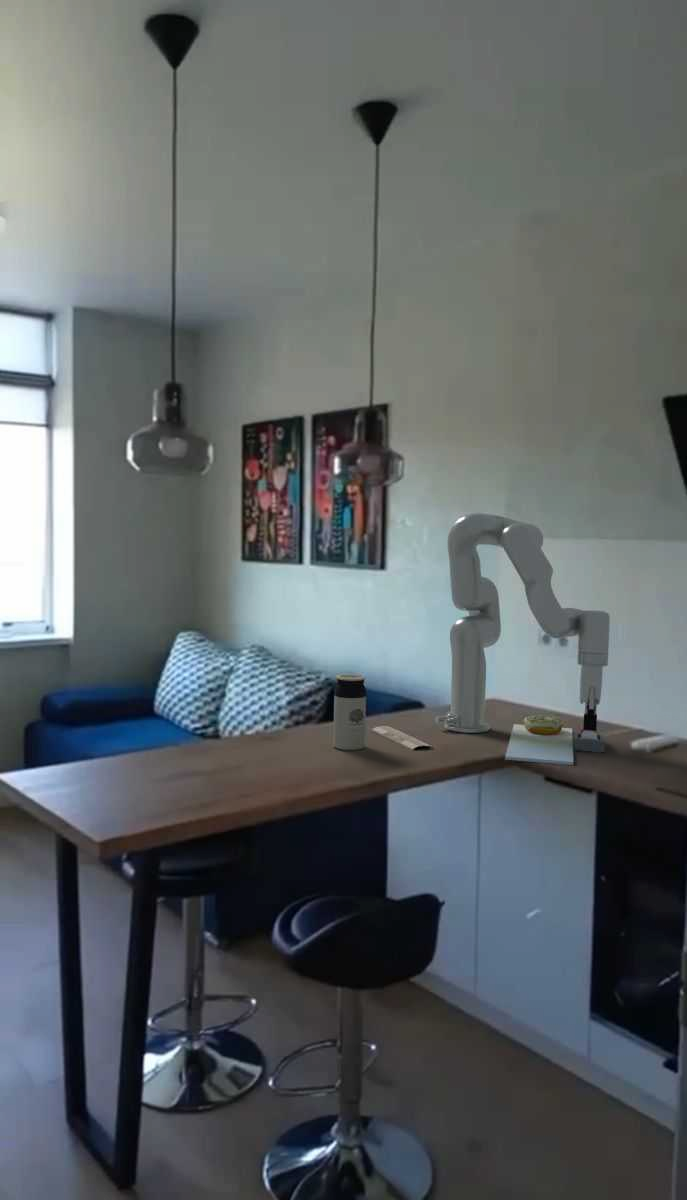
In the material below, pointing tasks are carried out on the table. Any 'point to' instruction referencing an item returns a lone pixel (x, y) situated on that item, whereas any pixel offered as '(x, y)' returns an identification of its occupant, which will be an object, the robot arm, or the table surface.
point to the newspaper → (399, 737)
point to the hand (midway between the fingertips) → (589, 729)
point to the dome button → (589, 735)
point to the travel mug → (349, 712)
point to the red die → (583, 729)
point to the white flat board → (540, 746)
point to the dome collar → (589, 743)
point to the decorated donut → (543, 724)
